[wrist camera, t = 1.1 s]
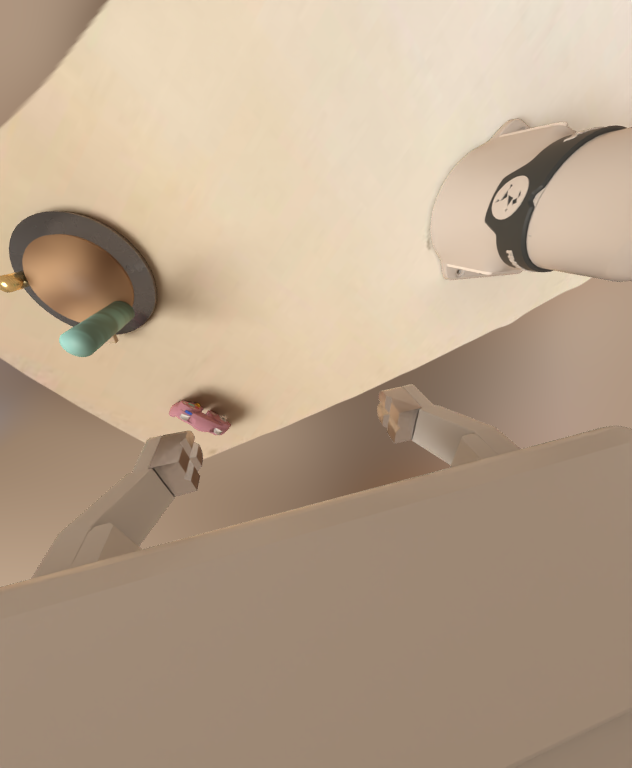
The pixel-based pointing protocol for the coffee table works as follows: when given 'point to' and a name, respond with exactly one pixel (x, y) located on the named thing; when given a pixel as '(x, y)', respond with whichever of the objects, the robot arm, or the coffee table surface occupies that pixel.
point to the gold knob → (13, 282)
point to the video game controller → (200, 418)
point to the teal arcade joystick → (80, 289)
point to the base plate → (100, 236)
